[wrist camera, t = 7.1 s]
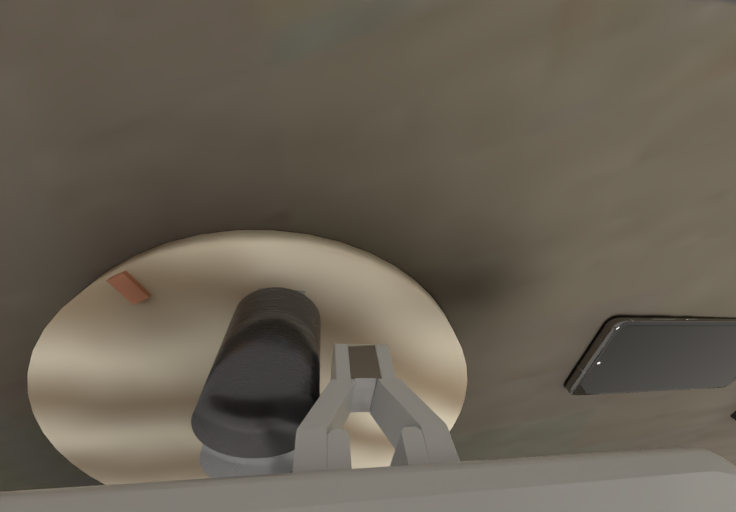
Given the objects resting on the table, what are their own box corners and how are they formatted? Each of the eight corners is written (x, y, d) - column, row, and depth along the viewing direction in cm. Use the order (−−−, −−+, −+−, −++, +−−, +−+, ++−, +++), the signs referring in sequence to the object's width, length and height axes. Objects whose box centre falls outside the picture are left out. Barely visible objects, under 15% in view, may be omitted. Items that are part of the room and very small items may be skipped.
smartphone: (727, 389, 25) (567, 397, 22) (712, 378, 26) (557, 385, 23) (797, 322, 22) (619, 321, 19) (777, 313, 23) (605, 310, 20)
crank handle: (326, 457, 20) (327, 571, 15) (214, 461, 19) (176, 588, 14) (362, 280, 13) (384, 385, 9) (193, 266, 12) (108, 382, 7)
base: (376, 498, 28) (379, 521, 26) (63, 485, 21) (43, 515, 19) (530, 298, 18) (548, 317, 16) (31, 148, 11) (-15, 157, 9)
